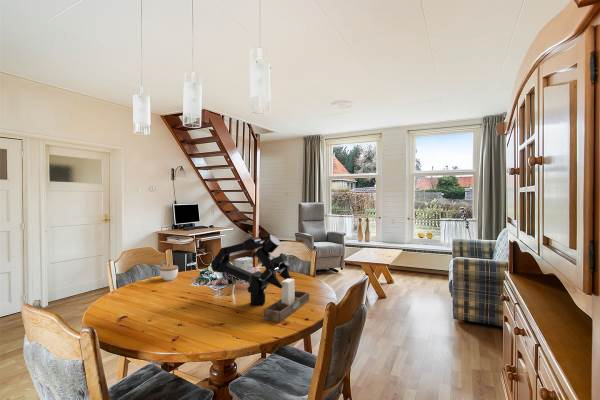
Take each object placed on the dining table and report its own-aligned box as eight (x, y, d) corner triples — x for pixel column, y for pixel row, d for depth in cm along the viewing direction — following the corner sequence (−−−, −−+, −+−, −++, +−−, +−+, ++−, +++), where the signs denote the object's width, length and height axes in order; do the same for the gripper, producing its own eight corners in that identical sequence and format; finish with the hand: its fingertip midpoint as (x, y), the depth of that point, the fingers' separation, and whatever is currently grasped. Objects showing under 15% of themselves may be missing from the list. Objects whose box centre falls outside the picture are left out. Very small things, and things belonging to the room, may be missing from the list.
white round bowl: (172, 282, 183) (171, 266, 183) (156, 281, 185) (155, 266, 185) (181, 277, 194) (181, 262, 194) (166, 276, 195) (166, 262, 195)
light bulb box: (246, 272, 207) (246, 256, 207) (253, 273, 203) (253, 257, 203) (234, 275, 199) (233, 258, 199) (240, 277, 194) (240, 260, 194)
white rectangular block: (281, 308, 137) (281, 281, 137) (288, 303, 142) (287, 278, 142) (288, 309, 135) (288, 282, 135) (294, 304, 141) (294, 279, 141)
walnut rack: (263, 318, 128) (263, 309, 128) (294, 298, 153) (294, 290, 153) (280, 322, 124) (280, 312, 124) (309, 300, 150) (309, 292, 150)
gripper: (265, 251, 133) (287, 279, 128) (286, 245, 150) (306, 269, 145) (250, 267, 136) (272, 295, 132) (272, 259, 153) (291, 283, 148)
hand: (286, 285), depth 139 cm, fingers open, 9 cm apart
